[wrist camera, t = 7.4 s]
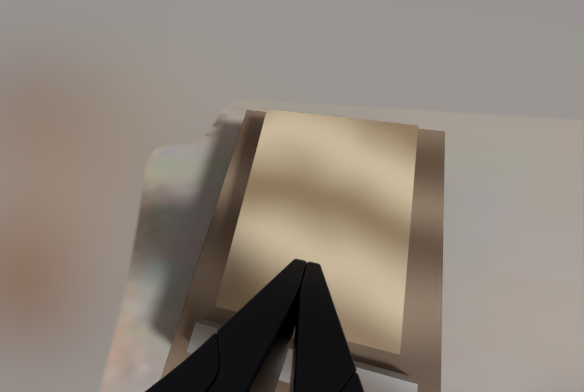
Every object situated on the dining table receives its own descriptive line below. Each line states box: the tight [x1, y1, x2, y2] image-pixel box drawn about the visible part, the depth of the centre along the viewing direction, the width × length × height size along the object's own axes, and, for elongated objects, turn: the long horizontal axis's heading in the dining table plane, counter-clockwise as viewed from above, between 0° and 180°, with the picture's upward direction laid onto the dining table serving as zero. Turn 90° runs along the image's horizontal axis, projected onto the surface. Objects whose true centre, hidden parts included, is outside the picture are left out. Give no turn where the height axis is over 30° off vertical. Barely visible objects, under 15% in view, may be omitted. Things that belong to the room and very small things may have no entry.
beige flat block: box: [161, 110, 445, 392], centre depth 17 cm, size 20×15×6 cm
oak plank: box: [215, 109, 418, 355], centre depth 15 cm, size 13×10×1 cm
